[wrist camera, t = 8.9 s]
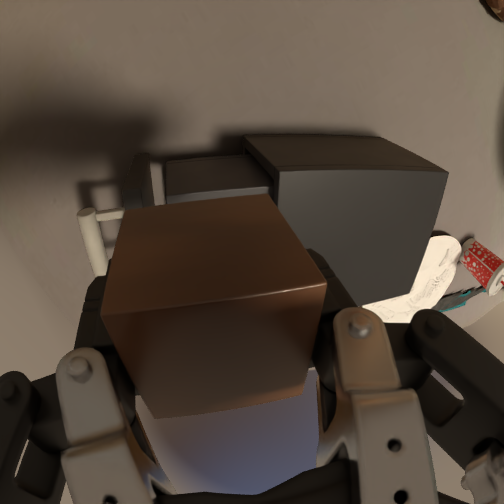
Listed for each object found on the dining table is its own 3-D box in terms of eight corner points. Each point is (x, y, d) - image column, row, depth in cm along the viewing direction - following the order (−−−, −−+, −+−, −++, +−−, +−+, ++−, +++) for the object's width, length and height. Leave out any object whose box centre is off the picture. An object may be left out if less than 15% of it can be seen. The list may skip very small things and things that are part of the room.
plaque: (440, 204, 36) (447, 209, 34) (465, 269, 46) (470, 274, 45) (337, 306, 41) (342, 313, 40) (389, 343, 52) (393, 349, 50)
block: (151, 315, 11) (154, 420, 8) (124, 209, 9) (98, 314, 5) (264, 299, 12) (302, 395, 8) (267, 192, 9) (328, 282, 6)
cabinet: (241, 257, 32) (268, 325, 25) (242, 134, 25) (279, 171, 17) (362, 241, 36) (409, 293, 28) (382, 137, 28) (449, 172, 21)
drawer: (112, 274, 29) (103, 333, 22) (86, 162, 22) (57, 201, 16) (285, 252, 32) (314, 303, 26) (294, 142, 26) (337, 173, 19)
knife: (479, 298, 55) (488, 281, 52) (481, 301, 54) (491, 284, 52) (408, 319, 49) (419, 298, 47) (411, 323, 48) (422, 302, 46)
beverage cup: (461, 268, 46) (510, 319, 35) (450, 257, 43) (505, 312, 32) (480, 242, 44) (532, 289, 32) (471, 228, 41) (530, 279, 29)
